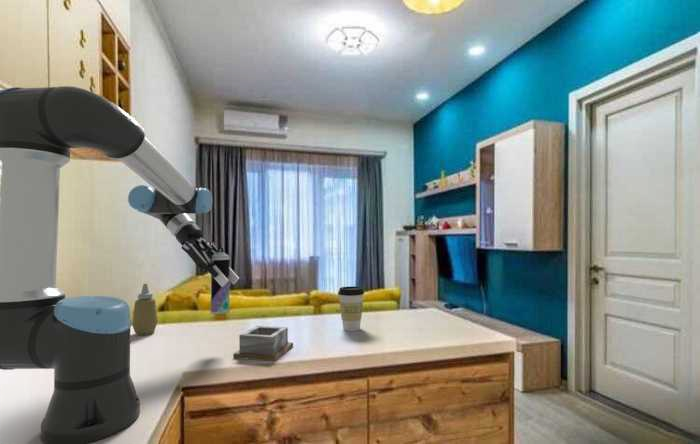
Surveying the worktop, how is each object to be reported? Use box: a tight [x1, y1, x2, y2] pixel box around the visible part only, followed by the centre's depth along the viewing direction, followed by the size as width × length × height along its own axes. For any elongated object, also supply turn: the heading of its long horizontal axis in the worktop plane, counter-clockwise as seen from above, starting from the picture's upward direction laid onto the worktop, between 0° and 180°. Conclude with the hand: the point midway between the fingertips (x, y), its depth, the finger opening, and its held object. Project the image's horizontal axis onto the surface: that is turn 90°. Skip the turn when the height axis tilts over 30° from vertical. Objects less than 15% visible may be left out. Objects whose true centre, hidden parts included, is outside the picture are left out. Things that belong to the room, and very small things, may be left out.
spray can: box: [210, 247, 231, 315], centre depth 111 cm, size 6×6×20 cm
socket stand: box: [232, 325, 294, 362], centre depth 107 cm, size 13×13×6 cm
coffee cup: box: [337, 285, 365, 332], centre depth 132 cm, size 10×10×15 cm
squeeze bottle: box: [131, 283, 158, 336], centre depth 130 cm, size 8×8×18 cm
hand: (230, 282), depth 111 cm, fingers closed on spray can, 5 cm apart
